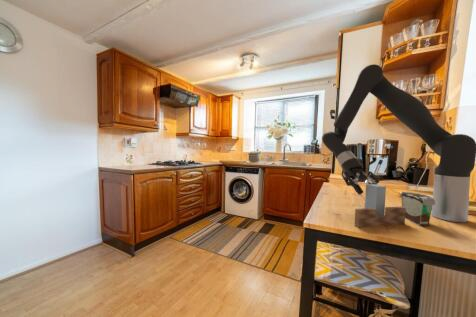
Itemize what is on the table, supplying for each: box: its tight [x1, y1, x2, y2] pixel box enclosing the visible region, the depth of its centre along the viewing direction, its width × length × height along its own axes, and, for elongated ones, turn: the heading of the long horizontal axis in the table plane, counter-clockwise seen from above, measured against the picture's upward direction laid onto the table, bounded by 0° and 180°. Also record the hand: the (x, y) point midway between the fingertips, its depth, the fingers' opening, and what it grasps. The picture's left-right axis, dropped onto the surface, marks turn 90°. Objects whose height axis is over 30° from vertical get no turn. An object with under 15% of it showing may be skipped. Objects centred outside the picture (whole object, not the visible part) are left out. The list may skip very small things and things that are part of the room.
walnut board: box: [354, 205, 406, 228], centre depth 65 cm, size 20×1×6 cm, turn 101°
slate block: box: [364, 183, 387, 216], centre depth 72 cm, size 4×5×13 cm
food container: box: [400, 191, 435, 227], centre depth 68 cm, size 12×6×10 cm, turn 168°
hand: (370, 193), depth 74 cm, fingers open, 8 cm apart
